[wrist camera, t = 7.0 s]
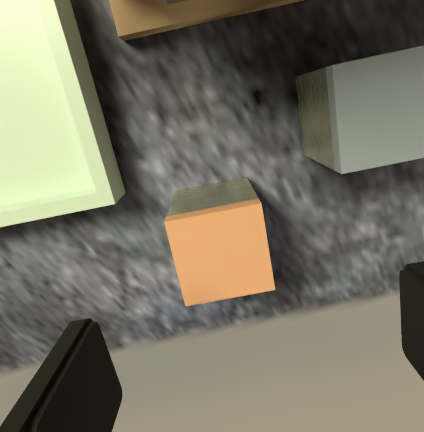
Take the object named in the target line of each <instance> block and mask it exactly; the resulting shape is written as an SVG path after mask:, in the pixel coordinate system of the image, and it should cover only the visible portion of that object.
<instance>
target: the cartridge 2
mask: <svg viewBox="0 0 424 432" xmlns="http://www.w3.org/2000/svg"><path fill="white" fill-rule="evenodd" d="M295 83H296V91H297V100H298V108H299V117H300V125H301V134H302V142H303V151H304V155H305V156H307V157H309V158H311V159H313V160H315V161H317V162H319V163H321V164H323V165H325V166H327V167H329V168H330V169H332V170H334V171H336V172H338V173H340V174H345V173H350V172H355V171H360V170H365V169H370V168H375V167H380V166H385V165H390V164H395V163H400V162H405V161H410V160H415V159H420V158H424V46H419V47H415V48H410V49H405V50H401V51H396V52H391V53H387V54H382V55H377V56H373V57H368V58H363V59H359V60H354V61H349V62H344V63H340V64H335V65H331V66H328V67H325V68H322V69H319V70H315V71H312V72H309V73H306V74H303V75H300V76H297V77H295Z"/></svg>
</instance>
